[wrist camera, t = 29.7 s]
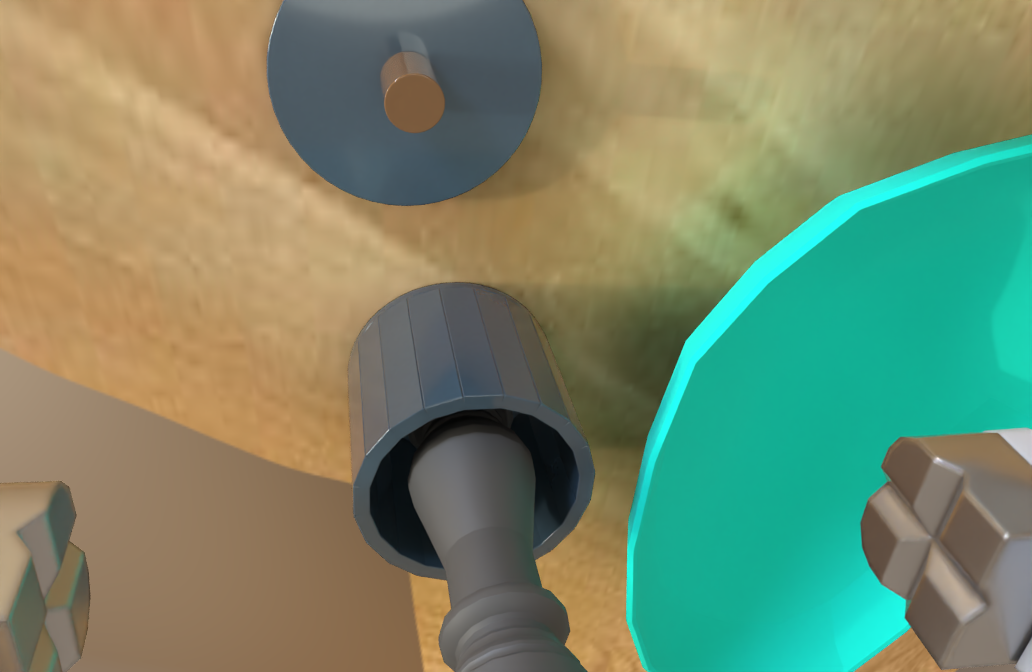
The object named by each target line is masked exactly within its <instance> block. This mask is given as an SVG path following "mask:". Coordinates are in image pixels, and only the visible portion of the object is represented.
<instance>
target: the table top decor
mask: <svg viewBox="0 0 1032 672" xmlns="http://www.w3.org/2000/svg"><path fill="white" fill-rule="evenodd" d="M1014 428H1029V429H1032V134H1031V135H1027V136H1023V137H1019V138H1014V139H1010V140H1006V141H1002V142H997V143H993V144H989V145H985V146H981V147H976V148H972V149H968V150H964V151H959V152H955V153H952V154H950V155H947V156H944V157H942V158H939V159H936V160H934V161H931V162H928V163H926V164H923V165H920V166H918V167H915V168H912V169H910V170H907V171H904V172H902V173H899V174H896V175H894V176H891V177H888V178H886V179H883V180H880V181H878V182H875V183H872V184H869V185H867V186H864V187H861V188H859V189H856V190H853V191H851V192H848V193H845V194H843V195H840V196H838V197H837V198H835V199H834V200H832V201H831V202H829V203H828V204H827V205H825V206H824V207H823V208H822V209H820V210H819V211H818V212H817V213H815V214H814V215H813V216H812V217H810V218H809V219H808V220H807V221H805V222H804V223H803V224H802V225H800V226H799V227H798V228H796V229H795V230H794V231H793V232H791V233H790V234H789V235H788V236H786V237H785V238H784V239H783V240H781V241H780V242H779V243H778V244H776V245H775V246H774V247H773V248H771V249H770V250H769V251H768V252H766V253H765V254H764V255H763V256H761V257H760V258H759V259H758V260H756V261H755V262H754V263H753V264H752V265H751V267H750V268H749V269H748V270H747V271H746V272H745V273H744V275H743V276H742V277H741V278H740V279H739V280H738V281H737V283H736V284H735V285H734V286H733V287H732V288H731V289H730V291H729V292H728V293H727V294H726V295H725V296H724V297H723V299H722V300H721V301H720V302H719V303H718V304H717V305H716V306H715V308H714V309H713V310H712V311H711V312H710V313H709V314H708V316H707V317H706V318H705V319H704V320H703V321H702V322H701V324H700V325H699V326H698V327H697V328H696V329H695V331H694V332H693V333H692V334H691V335H690V337H689V338H688V339H687V340H686V342H685V344H684V347H683V349H682V352H681V354H680V357H679V359H678V362H677V364H676V367H675V369H674V372H673V374H672V377H671V379H670V382H669V384H668V387H667V389H666V392H665V394H664V396H663V399H662V401H661V404H660V406H659V409H658V411H657V414H656V416H655V419H654V421H653V424H652V426H651V429H650V431H649V434H648V437H647V442H646V446H645V450H644V455H643V459H642V463H641V468H640V472H639V476H638V481H637V485H636V489H635V494H634V498H633V502H632V507H631V511H630V515H629V520H628V546H627V599H626V621H627V624H628V627H629V630H630V632H631V635H632V638H633V641H634V644H635V647H636V649H637V652H638V655H639V658H640V661H641V664H642V666H643V668H644V669H645V670H646V671H648V672H854V671H855V670H856V669H858V668H859V667H860V666H862V665H863V664H864V663H866V662H867V661H868V660H870V659H871V658H872V657H874V656H875V655H876V654H878V653H879V652H880V651H882V650H883V649H884V648H886V647H887V646H888V645H890V644H891V643H892V642H894V641H895V640H896V639H898V638H899V637H900V636H902V635H903V634H904V633H906V632H907V631H908V630H909V629H910V628H911V626H910V625H909V623H908V622H907V621H906V619H905V606H906V600H905V599H904V598H902V597H901V596H899V595H897V594H896V593H894V592H893V591H891V590H889V589H888V588H886V587H884V586H883V585H881V583H880V582H879V580H878V579H877V577H876V576H875V574H874V573H873V571H872V570H871V568H870V567H869V565H868V562H867V559H866V557H865V554H864V551H863V549H862V540H861V526H860V522H861V519H862V516H863V513H864V510H865V507H866V504H867V501H868V498H869V497H870V496H872V495H873V494H874V493H875V492H876V491H877V490H878V489H879V488H881V487H882V486H883V485H884V484H885V483H886V482H887V480H886V477H885V475H884V473H883V471H882V468H881V465H882V462H883V460H884V458H885V455H886V453H887V450H888V448H889V447H890V446H891V445H892V444H893V443H894V442H895V441H896V440H897V439H898V438H899V437H906V436H922V435H939V434H955V433H972V432H984V431H988V430H1001V429H1014Z"/></svg>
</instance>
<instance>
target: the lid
mask: <svg viewBox="0 0 1032 672" xmlns="http://www.w3.org/2000/svg"><path fill="white" fill-rule="evenodd" d="M267 81H268V88H269V95H270V98H271V102H272V106H273V109H274V112H275V115H276V117H277V120H278V122H279V124H280V127H281V129H282V131H283V132H284V134H285V136H286V138H287V139H288V141H289V143H290V144H291V145H292V147H293V148H294V149H295V151H296V152H297V153H298V155H299V156H300V157H301V158H302V159H303V160H304V161H305V162H306V163H307V164H308V165H309V166H310V168H311V169H312V170H314V171H315V172H316V173H317V174H319V175H320V176H321V177H322V178H324V179H325V180H326V181H328V182H329V183H331V184H333V185H334V186H336V187H338V188H339V189H341V190H343V191H345V192H347V193H350V194H352V195H354V196H356V197H359V198H362V199H366V200H369V201H372V202H377V203H382V204H388V205H401V206H412V205H425V204H430V203H436V202H440V201H443V200H447V199H450V198H453V197H456V196H458V195H460V194H462V193H465V192H467V191H469V190H471V189H473V188H474V187H476V186H478V185H479V184H481V183H483V182H484V181H485V180H487V179H488V178H489V177H490V176H492V175H493V174H494V173H496V172H497V171H498V170H499V169H500V168H501V167H502V166H503V165H504V164H505V163H506V162H507V161H508V160H509V158H510V157H511V156H512V155H513V153H514V152H515V151H516V149H517V148H518V147H519V145H520V144H521V142H522V140H523V138H524V137H525V135H526V133H527V132H528V129H529V127H530V125H531V122H532V120H533V118H534V115H535V111H536V108H537V105H538V101H539V96H540V89H541V83H542V60H541V50H540V44H539V40H538V36H537V31H536V28H535V26H534V23H533V20H532V18H531V15H530V13H529V11H528V9H527V7H526V5H525V3H524V1H523V0H283V1H282V3H281V5H280V8H279V10H278V12H277V14H276V17H275V20H274V23H273V27H272V30H271V34H270V38H269V45H268V52H267Z"/></svg>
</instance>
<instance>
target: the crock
mask: <svg viewBox="0 0 1032 672" xmlns="http://www.w3.org/2000/svg"><path fill="white" fill-rule="evenodd" d="M348 398H349V423H350V448H351V473H352V495H353V496H352V497H353V514H354V518H355V520H356V522H357V525H358V526H359V529H360V531H361V533H362V535H363V537H364V539H365V541H366V543H368V545H369V546H370V547H372V548H373V549H374V550H375V551H376V552H377V553H378V554H379V555H380V556H381V557H382V558H384V559H385V560H386V561H387V562H388V563H390V564H392V565H394V566H396V567H399V568H401V569H403V570H405V571H407V572H410V573H412V574H414V575H416V576H421V577H428V578H434V579H441V580H447V577H446V571H445V569H444V567H443V565H442V563H441V561H440V559H439V556H438V554H437V552H436V550H435V548H434V546H433V544H432V542H431V540H430V538H429V536H428V534H427V532H426V530H425V528H424V526H423V524H422V522H421V520H420V518H419V516H418V514H417V512H416V510H415V508H414V505H413V502H412V498H411V495H410V491H409V487H408V476H409V472H410V468H411V464H412V459H413V456H414V453H415V451H416V450H417V449H416V447H415V446H414V445H413V444H412V443H411V442H410V440H409V436H408V434H410V433H411V432H413V431H415V430H416V429H418V428H419V427H421V426H423V425H424V424H426V423H428V422H429V421H431V420H433V419H436V418H439V417H443V416H446V415H449V414H453V413H456V412H459V411H463V410H478V409H506V410H510V411H512V412H513V421H512V424H511V428H510V429H511V430H513V431H514V432H515V433H516V435H517V436H518V437H519V438H520V440H521V441H522V442H523V443H524V444H525V446H526V447H527V448H528V449H529V451H530V453H531V456H532V460H533V465H534V471H535V477H536V483H535V504H534V532H533V555H534V559H535V560H536V559H538V558H540V557H541V556H543V555H545V554H547V553H548V552H550V551H551V550H553V549H554V548H555V547H556V546H557V545H558V544H559V543H560V542H561V541H562V540H563V539H564V538H565V537H566V536H567V535H569V534H570V533H571V532H572V531H573V530H574V529H575V527H576V526H577V524H578V522H579V520H580V519H581V517H582V515H583V513H584V512H585V510H586V508H587V506H588V504H589V503H590V500H591V495H592V489H593V483H594V477H595V469H594V464H593V460H592V456H591V452H590V448H589V445H588V442H587V439H586V437H585V434H584V432H583V429H582V427H581V424H580V422H579V419H578V416H577V414H576V411H575V409H574V406H573V404H572V401H571V399H570V396H569V394H568V391H567V388H566V386H565V383H564V381H563V378H562V376H561V373H560V371H559V368H558V365H557V363H556V360H555V358H554V355H553V353H552V350H551V348H550V345H549V342H548V340H547V337H546V335H545V334H544V332H543V331H542V329H541V326H540V325H539V323H538V322H537V320H536V319H535V317H534V316H533V315H532V314H531V313H530V312H529V311H528V309H527V308H525V307H524V306H523V305H522V304H521V303H519V302H518V301H517V300H515V299H514V298H512V297H510V296H509V295H507V294H505V293H503V292H500V291H498V290H496V289H493V288H490V287H486V286H483V285H478V284H472V283H457V282H454V283H440V284H435V285H430V286H426V287H422V288H419V289H416V290H413V291H411V292H408V293H406V294H404V295H402V296H400V297H398V298H396V299H395V300H393V301H391V302H390V303H388V304H387V305H386V306H384V307H383V308H382V309H381V310H379V311H378V312H377V313H376V314H375V315H374V316H373V317H372V318H371V319H370V320H369V321H368V323H367V324H366V325H365V326H364V328H363V329H362V330H361V332H360V334H359V336H358V337H357V339H356V341H355V343H354V346H353V348H352V351H351V355H350V359H349V364H348Z"/></svg>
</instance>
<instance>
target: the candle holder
mask: <svg viewBox="0 0 1032 672" xmlns="http://www.w3.org/2000/svg"><path fill="white" fill-rule="evenodd" d="M512 421H513V412H512V411H510V410H506V409H478V410H463V411H459V412H456V413H453V414H449V415H446V416H443V417H439V418H436V419H433V420H431V421H429V422H428V423H426V424H424V425H423V426H421V427H419V428H418V429H416V430H415V431H413V432H411V433H410V434H408V436H409V440H410V442H411V443H412V444H413V445H414V446H415V447H416V449H417V450H416V451H415V453H414V456H413V459H412V464H411V468H410V472H409V476H408V487H409V491H410V495H411V498H412V502H413V505H414V508H415V510H416V512H417V514H418V516H419V518H420V520H421V522H422V524H423V526H424V528H425V530H426V532H427V534H428V536H429V538H430V540H431V542H432V544H433V546H434V548H435V550H436V552H437V554H438V556H439V559H440V561H441V563H442V565H443V567H444V569H445V571H446V577H447V583H448V590H449V596H450V603H451V610H450V611H449V612H448V614H447V615H446V616H445V617H444V621H443V624H442V628H441V631H440V634H439V647H440V650H441V653H442V657H443V660H444V663H446V664H447V665H448V666H449V667H450V668H451V669H452V670H453V671H455V672H587V671H586V669H585V668H584V667H583V666H582V665H581V664H580V661H579V660H578V659H577V658H576V657H575V656H574V655H573V654H572V653H571V652H570V651H569V650H568V648H567V647H565V646H564V645H565V643H566V640H567V638H568V635H569V633H570V627H569V622H568V616H567V612H566V609H565V607H564V605H563V604H562V603H561V602H560V601H559V600H558V599H557V598H556V597H555V595H554V594H553V593H552V592H551V591H549V590H547V589H544V588H542V585H541V581H540V577H539V574H538V570H537V566H536V562H535V559H534V555H533V532H534V504H535V483H536V477H535V471H534V465H533V460H532V456H531V453H530V451H529V449H528V448H527V447H526V446H525V444H524V443H523V442H522V441H521V440H520V438H519V437H518V436H517V435H516V433H515V432H514V431H513V430H511V429H510V428H511V424H512Z"/></svg>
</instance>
